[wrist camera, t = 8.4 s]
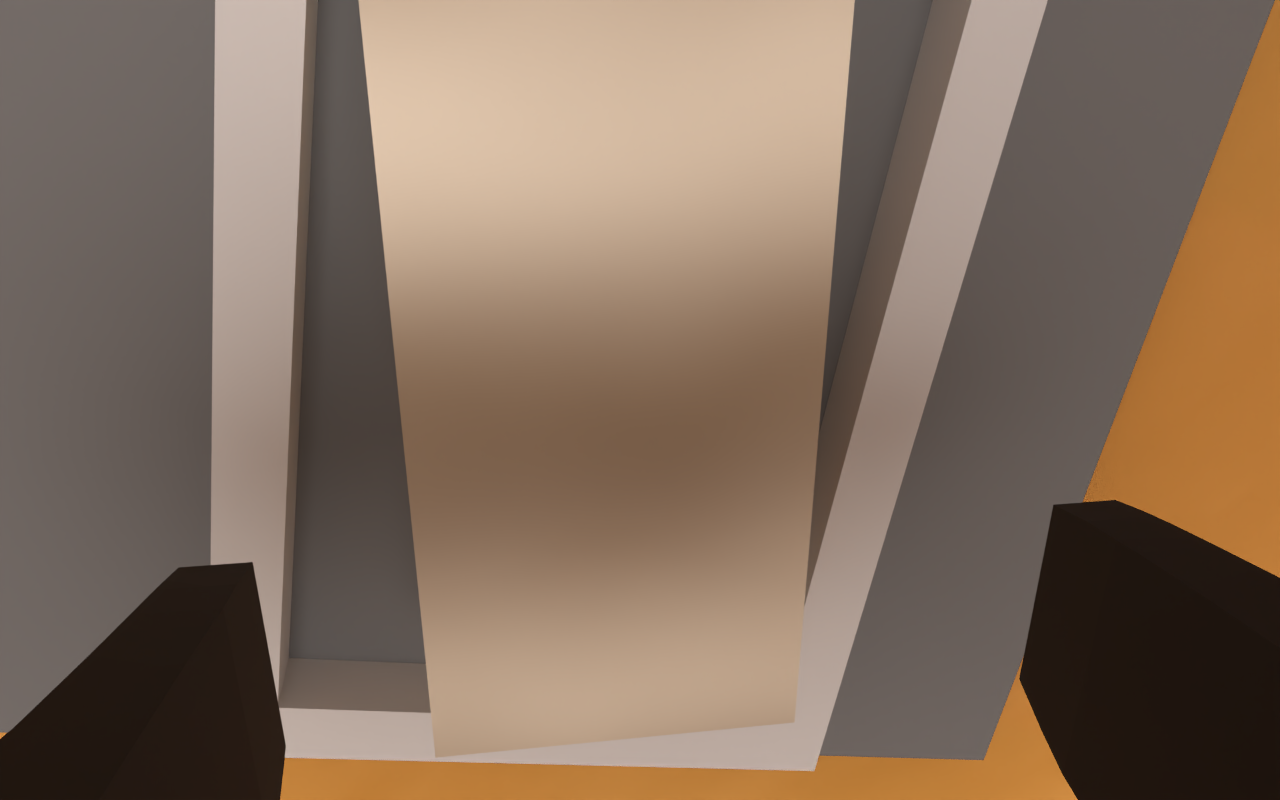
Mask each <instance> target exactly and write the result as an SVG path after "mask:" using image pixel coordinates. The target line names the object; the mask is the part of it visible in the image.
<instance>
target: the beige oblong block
mask: <svg viewBox="0 0 1280 800" xmlns="http://www.w3.org/2000/svg"><path fill="white" fill-rule="evenodd" d="M358 1H359V11H360V21H361V30H362V40H363V50H364V60H365V70H366V80H367V89H368V99H369V109H370V119H371V129H372V139H373V148H374V158H375V168H376V178H377V188H378V198H379V207H380V217H381V227H382V237H383V247H384V257H385V267H386V276H387V286H388V296H389V306H390V316H391V326H392V335H393V345H394V355H395V365H396V375H397V385H398V394H399V404H400V414H401V424H402V434H403V444H404V453H405V463H406V473H407V483H408V493H409V503H410V512H411V522H412V532H413V542H414V552H415V562H416V571H417V581H418V591H419V601H420V611H421V621H422V630H423V640H424V650H425V660H426V670H427V680H428V689H429V699H430V709H431V719H432V729H433V739H434V748H435V758H437V757H447V756H457V755H467V754H477V753H488V752H498V751H508V750H518V749H528V748H539V747H549V746H559V745H569V744H580V743H590V742H600V741H610V740H620V739H631V738H641V737H651V736H661V735H671V734H682V733H692V732H702V731H712V730H722V729H733V728H743V727H753V726H763V725H774V724H784V723H794V722H795V711H796V699H797V687H798V675H799V663H800V651H801V639H802V627H803V615H804V603H805V591H806V579H807V567H808V555H809V543H810V531H811V519H812V507H813V495H814V483H815V471H816V459H817V447H818V435H819V423H820V411H821V399H822V387H823V375H824V363H825V351H826V339H827V327H828V315H829V303H830V291H831V279H832V267H833V255H834V243H835V231H836V219H837V207H838V195H839V183H840V171H841V159H842V147H843V135H844V123H845V111H846V99H847V87H848V75H849V63H850V51H851V39H852V27H853V15H854V3H855V0H358Z"/></svg>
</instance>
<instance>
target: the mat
mask: <svg viewBox="0 0 1280 800" xmlns="http://www.w3.org/2000/svg"><path fill="white" fill-rule="evenodd" d="M1274 1H1275V0H855V3H854V15H853V27H852V39H851V51H850V63H849V75H848V87H847V99H846V111H845V123H844V135H843V147H842V159H841V171H840V183H839V195H838V207H837V219H836V231H835V243H834V255H833V267H832V279H831V291H830V303H829V315H828V327H827V339H826V351H825V363H824V375H823V387H822V399H821V411H820V423H819V435H818V447H817V459H816V471H815V483H814V495H813V507H812V519H811V531H810V543H809V555H808V567H807V579H806V591H805V603H804V615H803V627H802V639H801V651H800V663H799V675H798V687H797V699H796V711H795V722H794V723H784V724H774V725H763V726H753V727H743V728H733V729H722V730H712V731H702V732H692V733H682V734H671V735H661V736H651V737H641V738H631V739H620V740H610V741H600V742H590V743H580V744H569V745H559V746H549V747H539V748H528V749H518V750H508V751H498V752H488V753H477V754H467V755H457V756H447V757H437V758H435V748H434V739H433V729H432V719H431V709H430V699H429V689H428V680H427V670H426V660H425V650H424V640H423V630H422V621H421V611H420V601H419V591H418V581H417V571H416V562H415V552H414V542H413V532H412V522H411V512H410V503H409V493H408V483H407V473H406V463H405V453H404V444H403V434H402V424H401V414H400V404H399V394H398V385H397V375H396V365H395V355H394V345H393V335H392V326H391V316H390V306H389V296H388V286H387V276H386V267H385V257H384V247H383V237H382V227H381V217H380V207H379V198H378V188H377V178H376V168H375V158H374V148H373V139H372V129H371V119H370V109H369V99H368V89H367V80H366V70H365V60H364V50H363V40H362V30H361V21H360V11H359V1H358V0H0V732H7V733H8V732H9V731H10V730H11V729H12V728H14V727H15V726H16V725H17V724H18V723H19V722H20V721H21V720H22V719H23V718H24V717H25V716H26V715H27V714H28V713H29V712H30V711H32V710H33V709H34V708H35V707H36V706H37V705H38V704H39V703H40V702H41V701H42V700H43V699H44V698H45V697H46V696H47V695H48V694H49V693H50V692H51V691H52V690H53V689H54V688H55V687H57V686H58V685H59V684H60V683H61V682H62V681H63V680H64V679H65V678H66V677H67V676H68V675H69V674H70V673H71V672H72V671H73V670H74V669H75V668H76V667H77V666H78V665H79V664H80V663H82V662H83V661H84V660H85V659H86V658H87V657H88V656H89V655H90V654H91V653H92V652H93V651H94V650H95V649H96V648H97V647H98V646H99V645H100V644H101V643H102V642H103V641H104V640H105V639H106V638H107V637H108V636H109V635H110V634H111V633H112V632H113V631H114V630H115V629H116V628H117V627H118V626H119V625H120V624H121V623H122V622H123V621H124V620H125V619H126V618H127V617H128V616H129V615H130V614H131V613H132V612H133V611H134V610H135V609H136V608H137V607H138V606H139V605H140V604H141V603H142V602H143V601H144V600H145V599H146V598H147V597H148V596H149V595H150V594H151V593H152V592H153V591H154V590H155V589H156V588H157V587H158V586H159V585H160V584H161V583H162V582H163V581H164V580H165V579H167V578H168V577H169V576H170V575H171V574H172V573H173V572H174V571H175V570H176V569H177V568H178V567H191V566H205V565H219V564H233V563H247V562H253V566H254V572H255V578H256V583H257V589H258V594H259V600H260V605H261V611H262V616H263V622H264V627H265V633H266V638H267V644H268V649H269V655H270V661H271V666H272V672H273V677H274V683H275V688H276V694H277V699H278V705H279V710H280V716H281V721H282V727H283V732H284V738H285V744H286V750H285V758H319V759H359V760H398V761H438V762H478V763H517V764H557V765H596V766H636V767H676V768H715V769H755V770H795V771H814V770H815V767H816V764H817V760H818V757H819V755H823V756H858V757H894V758H929V759H965V760H984V757H985V755H986V752H987V749H988V747H989V744H990V742H991V739H992V736H993V734H994V731H995V729H996V726H997V723H998V721H999V718H1000V716H1001V713H1002V710H1003V708H1004V705H1005V702H1006V700H1007V697H1008V695H1009V692H1010V689H1011V687H1012V684H1013V682H1014V679H1015V676H1016V674H1017V671H1018V669H1019V666H1020V663H1021V661H1022V658H1023V656H1024V652H1025V647H1026V642H1027V637H1028V632H1029V627H1030V622H1031V617H1032V612H1033V606H1034V601H1035V596H1036V591H1037V586H1038V581H1039V576H1040V571H1041V565H1042V560H1043V555H1044V550H1045V545H1046V540H1047V535H1048V530H1049V524H1050V519H1051V514H1052V509H1053V505H1055V504H1069V503H1082V502H1083V499H1084V496H1085V494H1086V491H1087V489H1088V486H1089V483H1090V481H1091V478H1092V475H1093V473H1094V470H1095V468H1096V465H1097V462H1098V460H1099V457H1100V455H1101V452H1102V449H1103V447H1104V444H1105V442H1106V439H1107V436H1108V434H1109V431H1110V429H1111V426H1112V423H1113V421H1114V418H1115V415H1116V413H1117V410H1118V408H1119V405H1120V402H1121V400H1122V397H1123V395H1124V392H1125V389H1126V387H1127V384H1128V382H1129V379H1130V376H1131V374H1132V371H1133V369H1134V366H1135V363H1136V361H1137V358H1138V355H1139V353H1140V350H1141V348H1142V345H1143V342H1144V340H1145V337H1146V335H1147V332H1148V329H1149V327H1150V324H1151V322H1152V319H1153V316H1154V314H1155V311H1156V309H1157V306H1158V303H1159V301H1160V298H1161V295H1162V293H1163V290H1164V288H1165V285H1166V282H1167V280H1168V277H1169V275H1170V272H1171V269H1172V267H1173V264H1174V262H1175V259H1176V256H1177V254H1178V251H1179V249H1180V246H1181V243H1182V241H1183V238H1184V235H1185V233H1186V230H1187V228H1188V225H1189V222H1190V220H1191V217H1192V215H1193V212H1194V209H1195V207H1196V204H1197V202H1198V199H1199V196H1200V194H1201V191H1202V188H1203V186H1204V183H1205V181H1206V178H1207V175H1208V173H1209V170H1210V168H1211V165H1212V162H1213V160H1214V157H1215V155H1216V152H1217V149H1218V147H1219V144H1220V142H1221V139H1222V136H1223V134H1224V131H1225V128H1226V126H1227V123H1228V121H1229V118H1230V115H1231V113H1232V110H1233V108H1234V105H1235V102H1236V100H1237V97H1238V95H1239V92H1240V89H1241V87H1242V84H1243V82H1244V79H1245V76H1246V74H1247V71H1248V68H1249V66H1250V63H1251V61H1252V58H1253V55H1254V53H1255V50H1256V48H1257V45H1258V42H1259V40H1260V37H1261V35H1262V32H1263V29H1264V27H1265V24H1266V22H1267V19H1268V16H1269V14H1270V11H1271V8H1272V6H1273V3H1274Z"/></svg>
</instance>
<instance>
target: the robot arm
mask: <svg viewBox="0 0 1280 800" xmlns="http://www.w3.org/2000/svg"><path fill="white" fill-rule="evenodd" d="M1019 679H1020V681H1021V684H1022V686H1023V688H1024V691H1025V693H1026V695H1027V698H1028V700H1029V702H1030V705H1031V707H1032V709H1033V711H1034V714H1035V716H1036V718H1037V721H1038V723H1039V725H1040V728H1041V730H1042V732H1043V734H1044V736H1045V738H1046V741H1047V743H1048V745H1049V747H1050V749H1051V751H1052V753H1053V755H1054V757H1055V759H1056V761H1057V764H1058V766H1059V768H1060V770H1061V772H1062V774H1063V776H1064V777H1065V779H1066V781H1067V782H1068V784H1069V786H1070V787H1071V789H1072V791H1073V792H1074V794H1075V796H1076V797H1077V799H1078V800H1280V578H1279V577H1277V576H1275V575H1273V574H1271V573H1269V572H1267V571H1265V570H1263V569H1261V568H1259V567H1257V566H1255V565H1253V564H1251V563H1249V562H1247V561H1245V560H1243V559H1241V558H1239V557H1237V556H1235V555H1233V554H1231V553H1229V552H1227V551H1225V550H1223V549H1221V548H1219V547H1217V546H1215V545H1213V544H1211V543H1209V542H1207V541H1205V540H1203V539H1201V538H1199V537H1197V536H1195V535H1193V534H1191V533H1189V532H1187V531H1185V530H1183V529H1181V528H1179V527H1177V526H1174V525H1172V524H1170V523H1168V522H1166V521H1164V520H1162V519H1159V518H1157V517H1155V516H1153V515H1151V514H1148V513H1146V512H1144V511H1141V510H1139V509H1137V508H1134V507H1132V506H1129V505H1126V504H1124V503H1121V502H1119V501H1116V500H1111V501H1097V502H1083V503H1069V504H1055V505H1053V509H1052V514H1051V519H1050V524H1049V530H1048V535H1047V540H1046V545H1045V550H1044V555H1043V560H1042V565H1041V571H1040V576H1039V581H1038V586H1037V591H1036V596H1035V601H1034V606H1033V612H1032V617H1031V622H1030V627H1029V632H1028V637H1027V642H1026V647H1025V652H1024V658H1023V663H1022V668H1021V673H1020V678H1019ZM285 750H286V744H285V738H284V732H283V727H282V721H281V716H280V710H279V705H278V699H277V694H276V688H275V683H274V677H273V672H272V666H271V661H270V655H269V649H268V644H267V638H266V633H265V627H264V622H263V616H262V611H261V605H260V600H259V594H258V589H257V583H256V578H255V572H254V566H253V562H247V563H233V564H219V565H205V566H191V567H178V568H177V569H176V570H175V571H174V572H173V573H172V574H171V575H170V576H169V577H168V578H167V579H165V580H164V581H163V582H162V583H161V584H160V585H159V586H158V587H157V588H156V589H155V590H154V591H153V592H152V593H151V594H150V595H149V596H148V597H147V598H146V599H145V600H144V601H143V602H142V603H141V604H140V605H139V606H138V607H137V608H136V609H135V610H134V611H133V612H132V613H131V614H130V615H129V616H128V617H127V618H126V619H125V620H124V621H123V622H122V623H121V624H120V625H119V626H118V627H117V628H116V629H115V630H114V631H113V632H112V633H111V634H110V635H109V636H108V637H107V638H106V639H105V640H104V641H103V642H102V643H101V644H100V645H99V646H98V647H97V648H96V649H95V650H94V651H93V652H92V653H91V654H90V655H89V656H88V657H87V658H86V659H85V660H84V661H83V662H82V663H80V664H79V665H78V666H77V667H76V668H75V669H74V670H73V671H72V672H71V673H70V674H69V675H68V676H67V677H66V678H65V679H64V680H63V681H62V682H61V683H60V684H59V685H58V686H57V687H55V688H54V689H53V690H52V691H51V692H50V693H49V694H48V695H47V696H46V697H45V698H44V699H43V700H42V701H41V702H40V703H39V704H38V705H37V706H36V707H35V708H34V709H33V710H32V711H30V712H29V713H28V714H27V715H26V716H25V717H24V718H23V719H22V720H21V721H20V722H19V723H18V724H17V725H16V726H15V727H14V728H12V729H11V730H10V731H9V732H8V733H7V734H6V735H5V736H3V737H2V738H1V739H0V800H280V794H281V785H282V776H283V768H284V759H285Z"/></svg>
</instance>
